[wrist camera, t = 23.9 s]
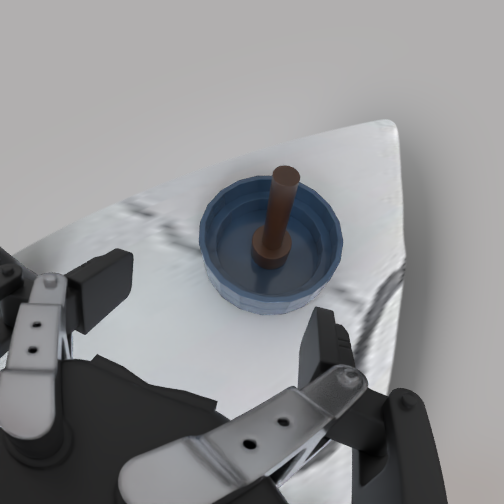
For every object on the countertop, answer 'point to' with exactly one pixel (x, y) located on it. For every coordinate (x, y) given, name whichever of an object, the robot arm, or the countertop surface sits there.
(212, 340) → the countertop surface
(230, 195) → the mixing bowl
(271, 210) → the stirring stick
